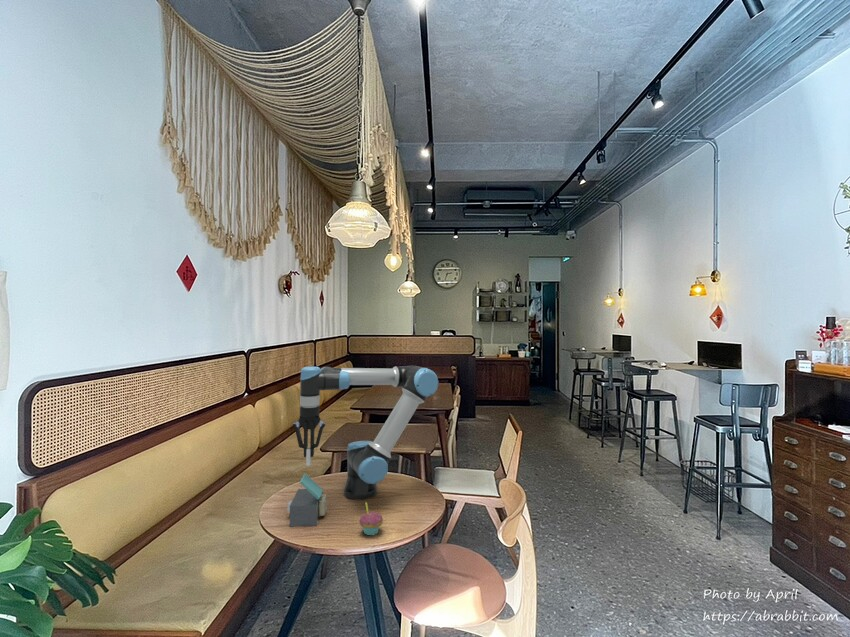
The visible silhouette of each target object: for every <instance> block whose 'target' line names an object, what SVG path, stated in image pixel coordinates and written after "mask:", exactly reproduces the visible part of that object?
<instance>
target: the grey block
mask: <svg viewBox="0 0 850 637" xmlns="http://www.w3.org/2000/svg"><path fill="white" fill-rule="evenodd" d="M321 488H322V489H323V487H321ZM322 494H324V491H322ZM322 494H321V495H322ZM319 500H320V499H319ZM319 500H318V499H316V498H315V497H314V496H313V495H312V494H311V493H310V492H309V491H308V490H307V489H306V488H298V489H297V491H296V493H295V494H294V497H293V498H292V500H291V501H292V503H291V505H290V512H289V527H290V528H295V527H294V526H302V527H317V526H318V523H319V520H318V519H320V517H319ZM317 522H318V523H317Z"/></svg>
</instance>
